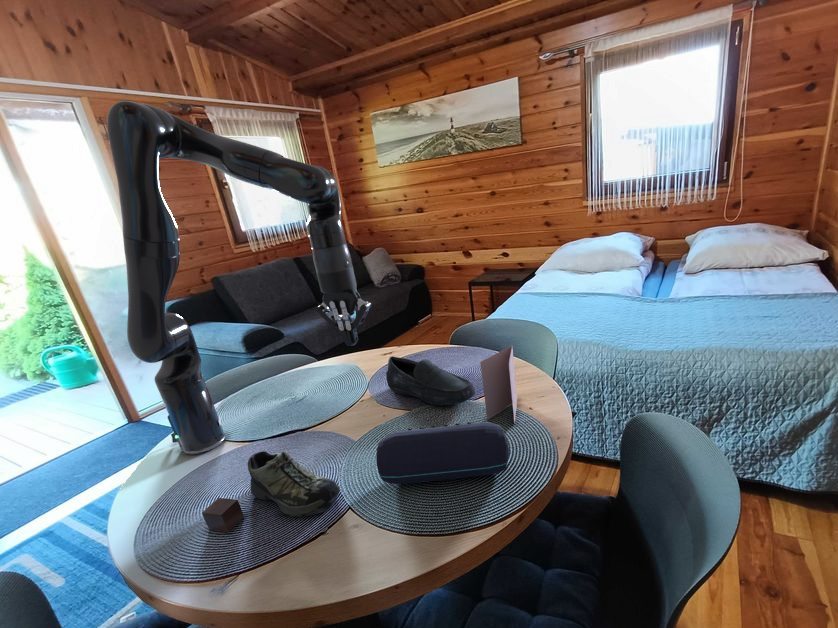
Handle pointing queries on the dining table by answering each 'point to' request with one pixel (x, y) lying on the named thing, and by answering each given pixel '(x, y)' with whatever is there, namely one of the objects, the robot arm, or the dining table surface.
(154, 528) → the dining table surface
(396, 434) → the portable speaker
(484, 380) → the greeting card
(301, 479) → the hiking shoe
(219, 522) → the block
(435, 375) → the loafer
